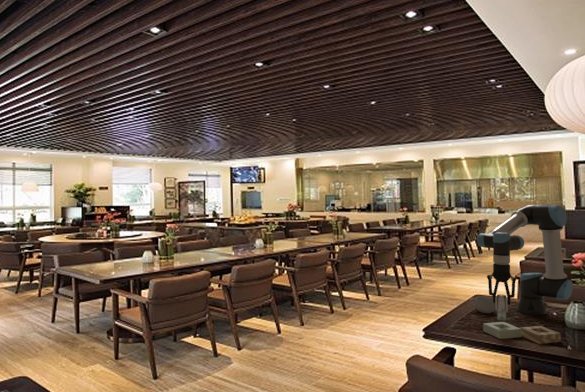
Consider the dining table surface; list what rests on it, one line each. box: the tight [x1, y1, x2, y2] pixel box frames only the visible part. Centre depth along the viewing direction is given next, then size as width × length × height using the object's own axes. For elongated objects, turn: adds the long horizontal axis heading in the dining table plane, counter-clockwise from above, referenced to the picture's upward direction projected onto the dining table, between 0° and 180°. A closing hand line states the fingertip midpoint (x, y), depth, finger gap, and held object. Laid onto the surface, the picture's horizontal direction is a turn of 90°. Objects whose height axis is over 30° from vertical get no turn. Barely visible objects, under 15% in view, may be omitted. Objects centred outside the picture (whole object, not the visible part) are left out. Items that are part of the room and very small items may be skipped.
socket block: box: [482, 321, 522, 340], centre depth 208 cm, size 12×12×4 cm
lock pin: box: [496, 293, 507, 322], centre depth 208 cm, size 4×4×12 cm
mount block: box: [519, 325, 562, 345], centre depth 202 cm, size 12×12×4 cm
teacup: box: [469, 296, 496, 314], centre depth 249 cm, size 14×11×8 cm
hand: (501, 310), depth 208 cm, fingers closed on lock pin, 4 cm apart
